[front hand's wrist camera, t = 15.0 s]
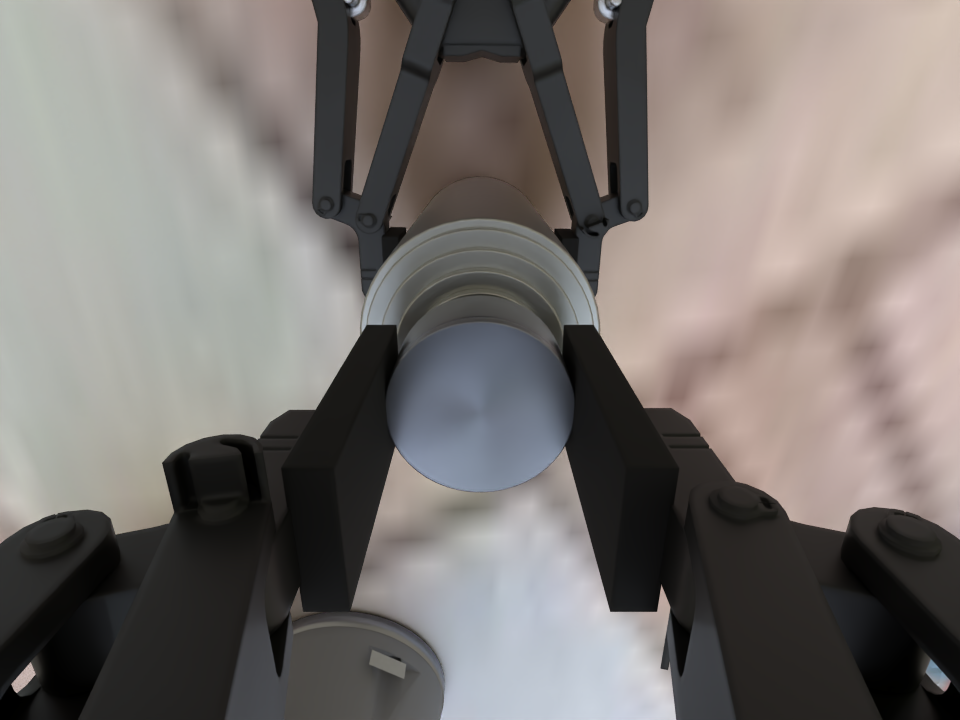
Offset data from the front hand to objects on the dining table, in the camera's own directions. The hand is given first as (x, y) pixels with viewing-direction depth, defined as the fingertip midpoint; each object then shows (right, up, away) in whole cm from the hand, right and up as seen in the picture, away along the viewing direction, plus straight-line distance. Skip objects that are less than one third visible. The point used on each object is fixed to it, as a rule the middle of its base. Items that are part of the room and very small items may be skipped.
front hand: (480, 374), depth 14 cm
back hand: (0, 0, +14) cm, 14 cm away
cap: (0, -1, -2) cm, 2 cm away
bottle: (0, +7, +18) cm, 19 cm away
